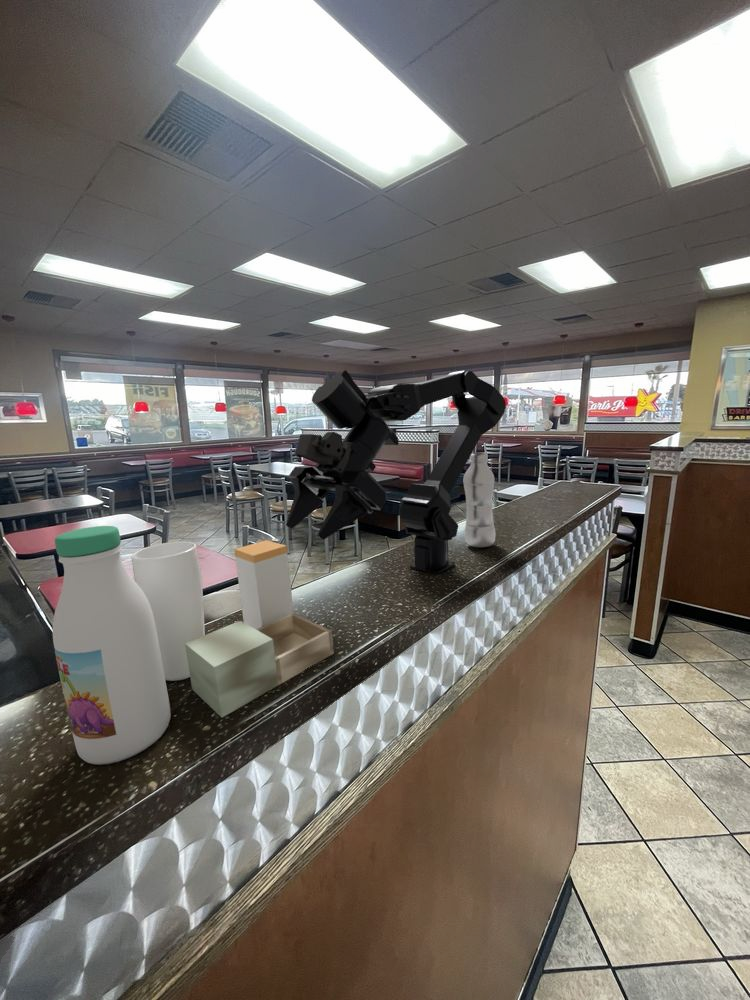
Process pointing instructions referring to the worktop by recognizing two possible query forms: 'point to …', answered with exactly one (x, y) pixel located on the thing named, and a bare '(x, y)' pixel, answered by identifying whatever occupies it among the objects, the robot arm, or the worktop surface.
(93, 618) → the milk bottle
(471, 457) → the plastic bottle
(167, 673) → the drinking glass
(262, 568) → the orange-topped white pillar
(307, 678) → the worktop surface
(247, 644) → the open wooden box
